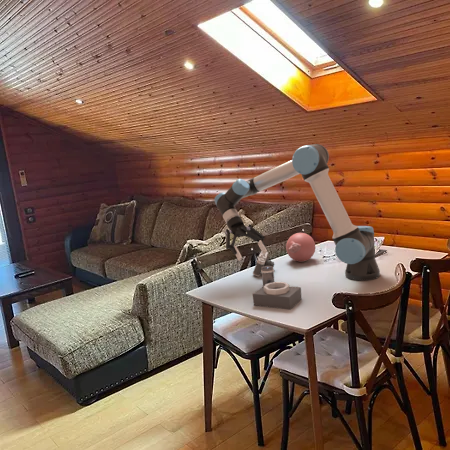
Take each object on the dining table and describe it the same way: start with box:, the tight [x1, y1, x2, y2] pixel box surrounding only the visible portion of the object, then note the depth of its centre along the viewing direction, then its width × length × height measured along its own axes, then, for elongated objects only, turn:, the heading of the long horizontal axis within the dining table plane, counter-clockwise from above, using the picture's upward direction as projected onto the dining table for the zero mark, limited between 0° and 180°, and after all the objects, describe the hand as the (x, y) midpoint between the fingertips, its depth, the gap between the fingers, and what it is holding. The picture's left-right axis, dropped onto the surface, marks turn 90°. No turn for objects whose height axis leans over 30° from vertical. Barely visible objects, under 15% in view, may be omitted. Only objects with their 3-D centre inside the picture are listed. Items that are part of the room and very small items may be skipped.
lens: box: [261, 266, 275, 287], centre depth 196 cm, size 6×6×11 cm
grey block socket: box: [252, 281, 303, 310], centre depth 182 cm, size 16×12×7 cm
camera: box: [252, 250, 275, 277], centre depth 226 cm, size 9×16×10 cm, turn 170°
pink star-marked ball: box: [285, 232, 316, 263], centre depth 236 cm, size 15×20×15 cm
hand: (253, 256), depth 203 cm, fingers open, 13 cm apart
